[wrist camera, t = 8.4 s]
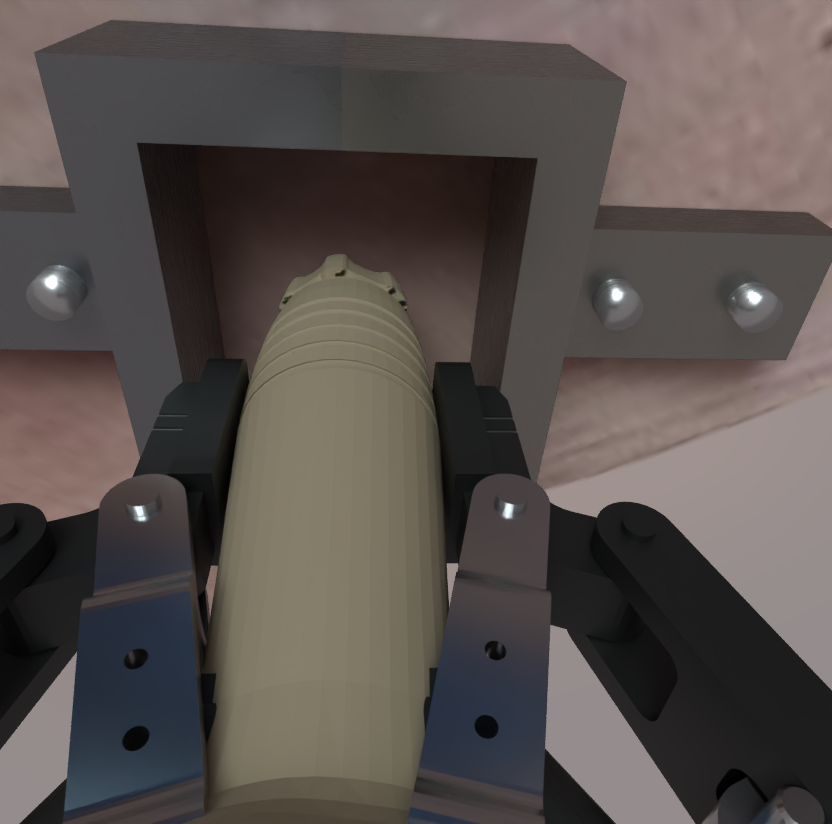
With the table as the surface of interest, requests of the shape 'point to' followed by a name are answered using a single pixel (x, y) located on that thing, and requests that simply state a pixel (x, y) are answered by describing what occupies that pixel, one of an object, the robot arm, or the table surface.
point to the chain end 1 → (149, 189)
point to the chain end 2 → (576, 221)
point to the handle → (329, 565)
